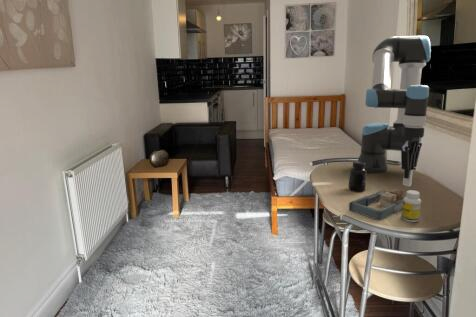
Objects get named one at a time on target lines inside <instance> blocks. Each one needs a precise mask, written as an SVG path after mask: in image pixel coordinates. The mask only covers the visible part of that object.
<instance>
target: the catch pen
mask: <svg viewBox="0 0 476 317" xmlns="http://www.w3.org/2000/svg"><path fill="white" fill-rule="evenodd" d="M367 198H369V195H365V196H363V197H362V196H361V197H359V198H356V199H355V200H352V201H350V202H349V206H348V210H349V212H354V213H356V214H359V215H362V216H365V217H368V218H372V219H374V220H377V221H382V220H383V219H386V218H387V217H389V216H391V215H393V208H394V207H395V206H397V204H391V205H389V206H384V207H383V208H381V209H376V208H373V207H369V206H367V205H366V199H367Z"/></svg>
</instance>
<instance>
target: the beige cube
mask: <svg viewBox="0 0 476 317" xmlns="http://www.w3.org/2000/svg"><path fill="white" fill-rule="evenodd" d="M395 202H396V195H395V194H391V193H389V191H388V192H385V193H383V194H381V196H380V201H379V205H380V206H381V205H382V206H384V207H387V206H389V205H391V204H393V203H395Z"/></svg>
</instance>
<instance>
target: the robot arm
mask: <svg viewBox="0 0 476 317" xmlns="http://www.w3.org/2000/svg"><path fill="white" fill-rule="evenodd" d="M431 48H432V47H431V41H430V38H429V36H427V35H404V36H403V35H399V36H397V35H395V36H390V37H387V38H385V39H383V40H382V41H381V42H379V44H377V45H376V47H375V48H374V50H373V52H372V56H371V57H372V58H371V61H372V63H373V69H372V70H373V71H372V78H371V80H372V81H371V82H372V83H371V88H368V89H366V91H365V92H366V93H365V102H364V103H365V106H366V107H368V108H375V109H377V108H378V109H379V108H383V109H387V108H388V109H397V115H396V116H397V117H396V120H395V121H393V123H392V124H393V125H392V126H390V125H389V123H388V122H372V123H367V124H364V126H363V127H362V132H361V143H360V144H361V145H360V153H359V156H358V158H357V161H362V162H365V167H364V168H365V169H366V170H367V174H369V173H371V174H382V173H383V174H385V173H387V172H388V169H389V165H388V161H387V156H386V153H387V152H386V151H396V152H397V151H398V152H400V153H401V154H400V155H401V156H400V157H401V166H400V167H401V170H404V171H403V179H402V186H405V187H409V188H410V187H411V186H412V181H413V173H414V171H416V169H417V168H416V167H417V165H418V161H419V157H420V152H421V149H422V145H423V143H422V138H424V135H425V126H426V120H427V109H428V101H429V97H430V87H429V86H428V85H425V84H424V85H423V84H421V79H422V70H423V68H424V67H425V66H427V63H428V62H429V61H430V60H431V52H432V49H431ZM393 62H394V63H395V62H396V63H398V67H399V68H400V69H401V74H400V84H399V85H400V86H399V88H398V89H397V88H396V89H395V88H394V89H393V88H391V83H392V82H391V81H392V63H393Z"/></svg>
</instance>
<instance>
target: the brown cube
mask: <svg viewBox="0 0 476 317" xmlns="http://www.w3.org/2000/svg"><path fill="white" fill-rule="evenodd" d="M388 193H391V194H395V195H396V202H397V201H399V200H402V199H404V198H405V197H404V195H405V190H400V189H397V188H393V189H390V190H389V191H388Z"/></svg>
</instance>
